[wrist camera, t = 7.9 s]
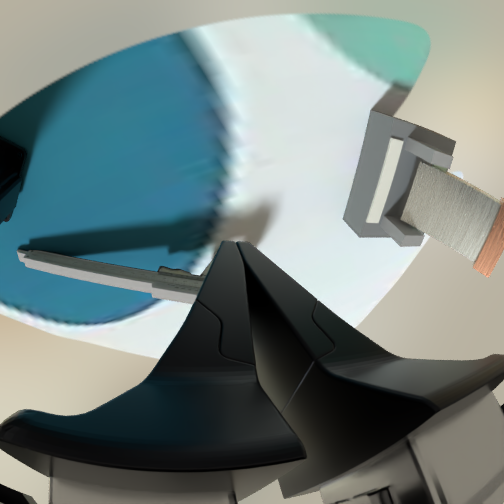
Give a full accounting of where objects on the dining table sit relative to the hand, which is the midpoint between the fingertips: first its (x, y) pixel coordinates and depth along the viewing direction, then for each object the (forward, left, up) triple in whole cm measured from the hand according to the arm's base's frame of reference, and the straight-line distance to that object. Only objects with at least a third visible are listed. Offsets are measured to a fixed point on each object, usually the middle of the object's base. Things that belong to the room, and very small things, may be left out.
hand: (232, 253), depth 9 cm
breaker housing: (+14, +8, -12) cm, 20 cm away
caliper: (-1, -11, -13) cm, 17 cm away
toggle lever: (+13, +7, -9) cm, 18 cm away
